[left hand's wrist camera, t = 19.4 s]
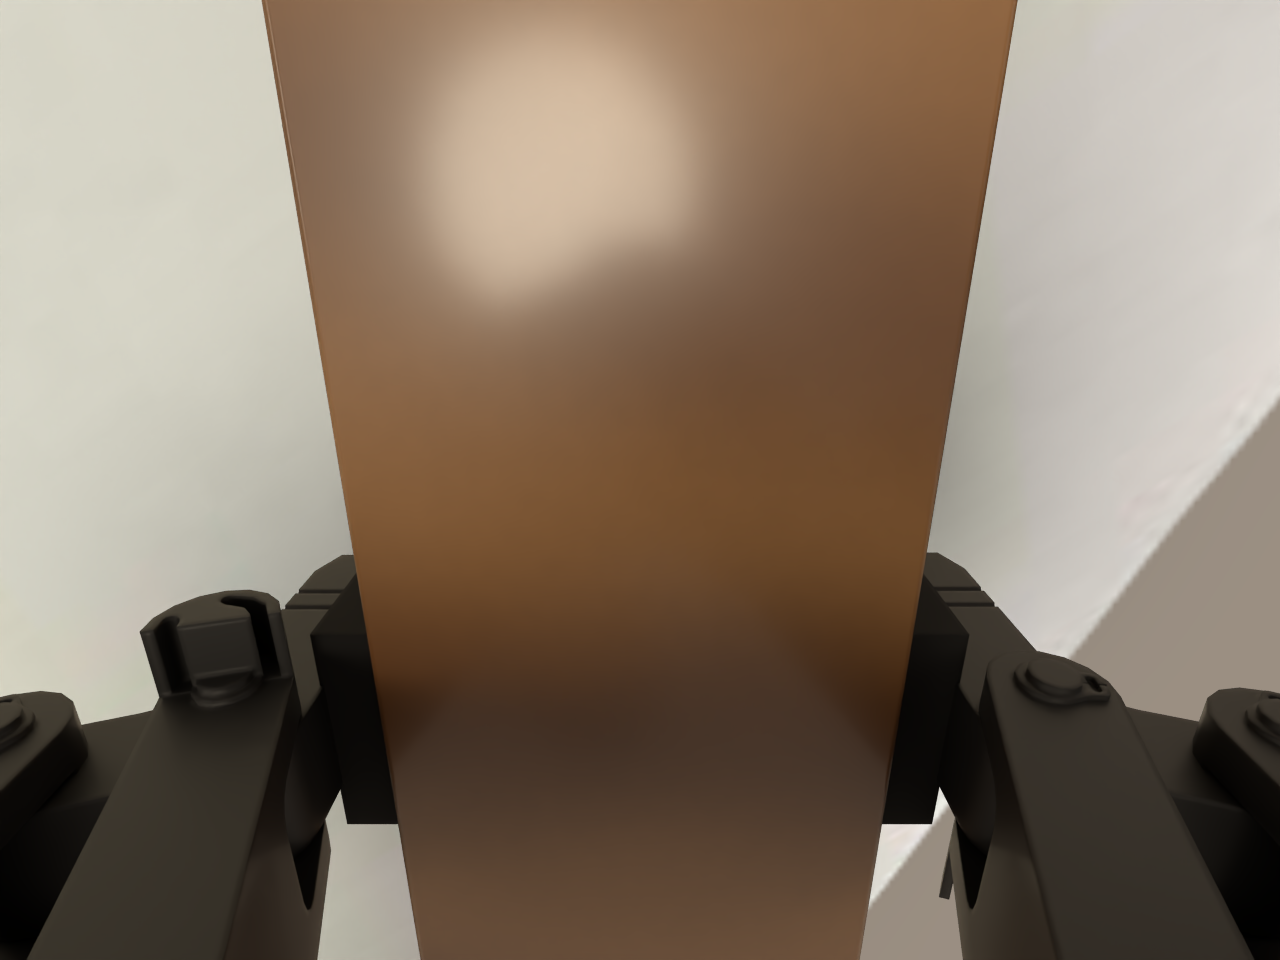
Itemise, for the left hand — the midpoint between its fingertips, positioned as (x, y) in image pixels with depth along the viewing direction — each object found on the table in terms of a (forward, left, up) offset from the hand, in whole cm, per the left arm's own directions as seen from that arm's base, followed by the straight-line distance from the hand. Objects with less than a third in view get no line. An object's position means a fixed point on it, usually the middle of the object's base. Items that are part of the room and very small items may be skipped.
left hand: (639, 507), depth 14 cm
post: (+21, +9, -1) cm, 23 cm away
